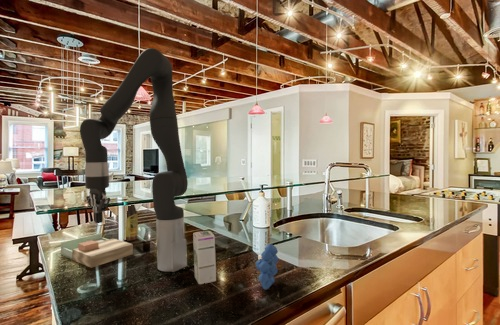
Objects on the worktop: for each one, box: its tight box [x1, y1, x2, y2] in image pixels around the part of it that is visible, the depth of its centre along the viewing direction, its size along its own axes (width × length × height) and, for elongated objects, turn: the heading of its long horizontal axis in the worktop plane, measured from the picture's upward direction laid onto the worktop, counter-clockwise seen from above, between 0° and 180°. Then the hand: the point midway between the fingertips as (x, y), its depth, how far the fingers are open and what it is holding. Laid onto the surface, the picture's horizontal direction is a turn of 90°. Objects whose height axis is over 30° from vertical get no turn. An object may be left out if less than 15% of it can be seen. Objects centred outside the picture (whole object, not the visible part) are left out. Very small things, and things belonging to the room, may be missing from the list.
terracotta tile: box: [78, 240, 99, 251], centre depth 108 cm, size 5×5×2 cm
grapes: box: [255, 243, 280, 290], centre depth 83 cm, size 12×7×12 cm, turn 157°
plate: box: [72, 238, 134, 269], centre depth 109 cm, size 14×16×4 cm
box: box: [60, 232, 110, 261], centre depth 116 cm, size 10×16×5 cm, turn 145°
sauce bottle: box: [126, 205, 139, 242], centre depth 131 cm, size 7×6×20 cm
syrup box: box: [192, 230, 217, 285], centre depth 88 cm, size 6×6×14 cm
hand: (98, 222), depth 103 cm, fingers closed
